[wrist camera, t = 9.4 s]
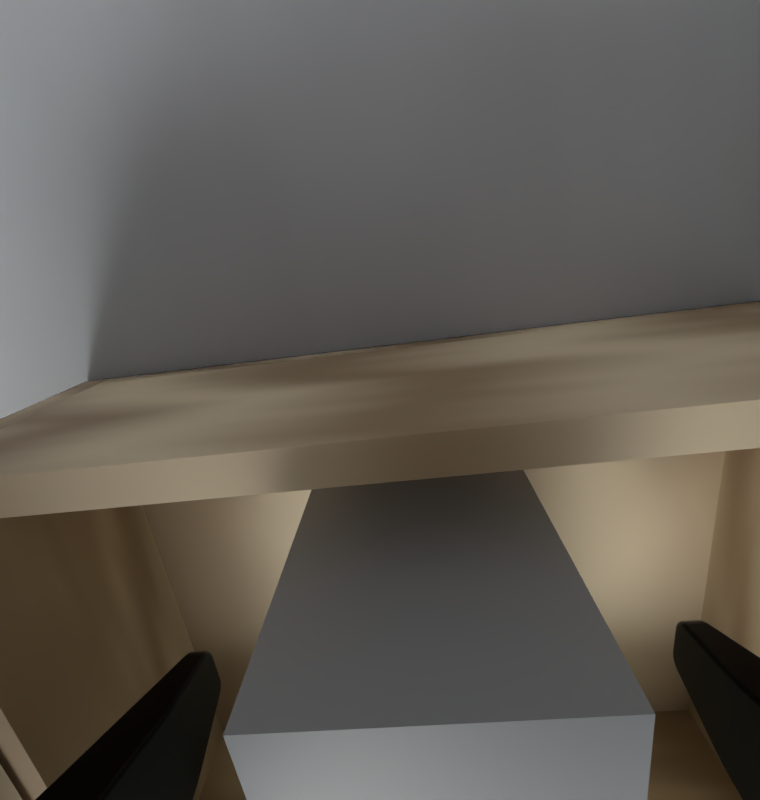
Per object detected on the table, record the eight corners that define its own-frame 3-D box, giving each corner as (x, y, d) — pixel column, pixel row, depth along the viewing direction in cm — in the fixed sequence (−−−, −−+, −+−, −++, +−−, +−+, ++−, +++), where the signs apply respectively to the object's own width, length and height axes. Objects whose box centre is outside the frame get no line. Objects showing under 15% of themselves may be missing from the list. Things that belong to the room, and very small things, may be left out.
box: (375, 688, 13) (353, 1085, 7) (327, 444, 10) (222, 735, 4) (512, 681, 13) (618, 1092, 7) (499, 426, 10) (655, 714, 4)
